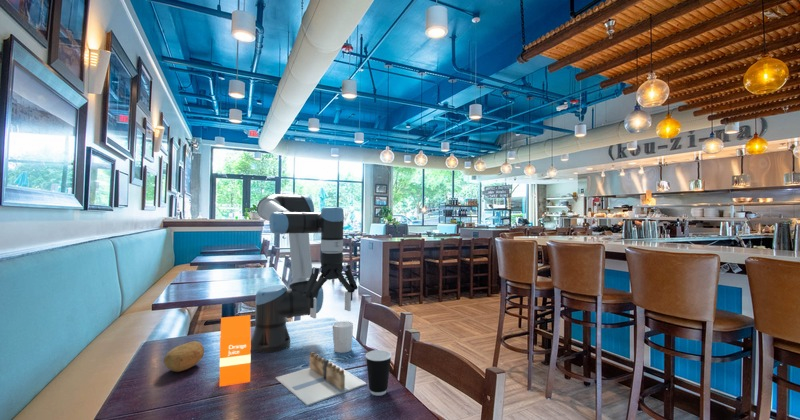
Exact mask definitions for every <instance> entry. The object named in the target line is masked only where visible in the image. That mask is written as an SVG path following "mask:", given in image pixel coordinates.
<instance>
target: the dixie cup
mask: <svg viewBox="0 0 800 420" xmlns="http://www.w3.org/2000/svg"><path fill="white" fill-rule="evenodd" d="M364 356H365V359H366V369H367V377H368V378H367V379H368V388H369V391H370V394H371V395H373V396H383V395H386V394H387V390H388V386H389V385H388V384H389V376H390V368H391V360H392V356H393V355H392V353H391V352H390V351H388V350H384V349H375V350H374V349H373V350H370V351H367V352H366V354H365V355H364Z"/></svg>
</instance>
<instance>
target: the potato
mask: <svg viewBox="0 0 800 420" xmlns="http://www.w3.org/2000/svg"><path fill="white" fill-rule="evenodd" d="M204 349H205V348H204V346H203V344H202V343H201V342H200V341H196V340H193V341H188V342H186V343H184V344H180V345H177V346H175V347H174V348H172V349H171V350H169V351H168V352H167V353H166V355H165V356H164V358H163V359H164V360H163V363H164V367H166V369H168V370H170V371H172V372H174V373H175V372H177V373H179V372H180V373H181V372H184V371H186V370H188V369H190V368H192V367H194V366H195V365H197V364H198V363H199V362H200V361H201V360H202V359H203V356H204V354H205V350H204Z"/></svg>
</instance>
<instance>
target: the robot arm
mask: <svg viewBox="0 0 800 420" xmlns="http://www.w3.org/2000/svg"><path fill="white" fill-rule="evenodd" d="M314 205H315V204H314V202H313V199H312V198H311V197H310V196H308V195H305V194H282V193H281V194H280V193H274V194H269V195H266V196H264V197H263V198H261V199H260V200H259V201H258V203H257V205H256V211H257V214H258V215H259V217H260V218H261V219H263V220H265V221H269V229H270V232H271V233H272V234H278V235H284V234H288V240H289V242H288V243H289V250H290V253H289V254H290V263H291V264H290V265H291V275H292V279H291V280H292V281H291V282H290V283H289V285H288V287H289V288H288V287H287V286H286V285H284V284H283V285H282V284H278V285H277V284H276V285H271V286H266V287H263V288H261V289H259V290H258V291H257V292H256V294H255V300H254V301H255V302H254V305H255V307H254V308H255V313H254V315H255V318H254V319H255V322H254V323H255V325H254V330H253V333H252V335H251V350H250V351H253V352H255V353H274V352H279V351H282V350H284V349H285V350H286V348H287V349H288V347H289V346H290V345H291V337H290V334H289V330H288V327H287V319H288V318H294V317H301V316H303V317H304V316H309V318H311V319H316V318H317V314H318V313H320V311H321V309H322V308H323V303H324V289H323V285H324V284H325V283H326V282H327V281H332V280H338V281H339V282H340V283H341V284H342V286H343V287H344V288H345V290H346V291H344V310H345V311H347V312H351V311H352V310H351V309H352V301H353V293H355V290H358V288H359V287H358V285H357V283H356V280H355V278H354V276H353V273H352V270H351V265H350V264H347V263H344V264H343V262H344V253H343V251H344V220H345V217H344V216H345V215H344V213H345V212H344V209H343V208H342V207H339V206H338V207H337V206H333V207H332V206H324V207H322V208H321V211H318V212H317V211H316V212H315V206H314ZM310 234H320V251H321V252H320V267H313V265H312V264H313V263H312V254H311V244H310ZM342 272H344V274H345V275H343V273H342ZM319 274H320V275H319ZM317 279H318V280H317Z"/></svg>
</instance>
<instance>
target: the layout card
mask: <svg viewBox="0 0 800 420" xmlns="http://www.w3.org/2000/svg"><path fill="white" fill-rule="evenodd" d="M330 362H331V363H332V365H336V368H337V367H339V368H340V370H342V369H343V370H344V375H345V389H344V390H340V389H338V388H337V387H336V386H334V385H333V384H331V383H330V382H328V381H327V380H326V379H324V376H323V377H322V376H321V375H320V374H318V373H317V372H315V371H314V370H312V369H311V368H310V367H308V368H303V369H300V370H297V371H292V372H290V373H287V374H283V375H280V376H276V377H275V380H277V381H278V382H279V383H280V384H282V385H283V386H284V387H285V388H286V389H287V390H288V391H289V392H290V393H292V394H293V395H294V396H295V397H296V398H298V400H300V401H301V402H302V403H303V404H304V405H306V406H307V407H309V406H311V405H315V404H317V403H319V402H322V401H325V400H328V399H330V398H333V397H336V396H339V395H341V394H344V393H348V392H350V391H352V390H356V389H358V388H361V387H363V386H367V382H365V381H364V380H362V379H361V378H359V377H357V376H356V375H354V374H352V373H351V372H349V371H347V370H345V369H344V368H342V367H341V366H339V365H338V364H335V363H334V362H332V361H329V363H330Z"/></svg>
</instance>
